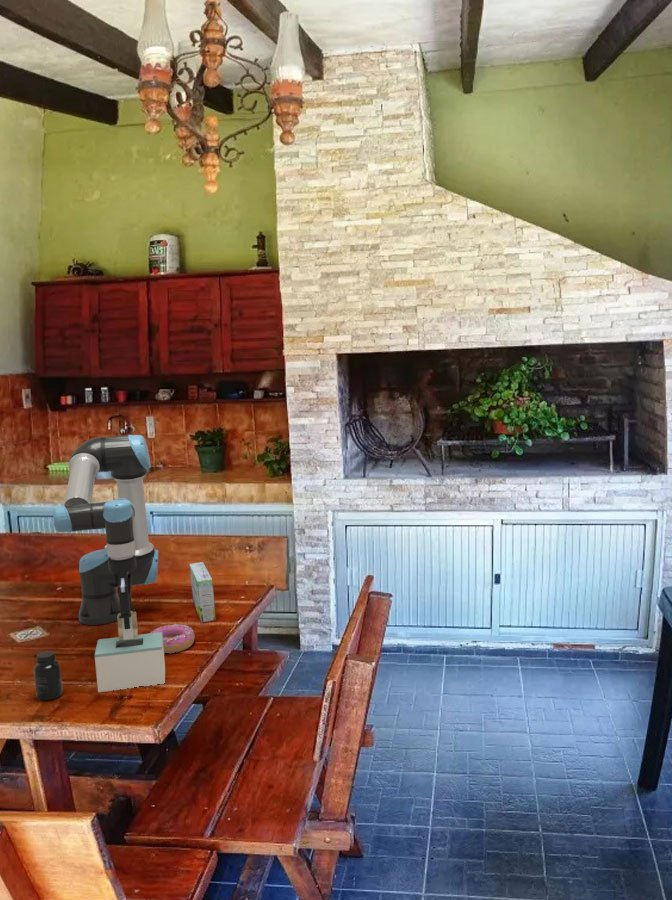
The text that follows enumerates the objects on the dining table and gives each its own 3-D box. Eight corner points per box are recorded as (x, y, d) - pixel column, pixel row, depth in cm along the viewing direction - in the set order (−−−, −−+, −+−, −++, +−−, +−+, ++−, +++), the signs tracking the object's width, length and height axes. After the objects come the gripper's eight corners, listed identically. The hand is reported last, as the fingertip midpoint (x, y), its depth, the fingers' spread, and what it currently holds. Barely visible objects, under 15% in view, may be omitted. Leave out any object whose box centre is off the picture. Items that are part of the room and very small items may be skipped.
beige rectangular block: (119, 637, 221) (117, 613, 220) (138, 635, 222) (136, 611, 221) (119, 641, 218) (117, 617, 217) (137, 639, 219) (135, 615, 218)
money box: (101, 675, 226) (98, 639, 224) (165, 667, 229) (162, 631, 227) (98, 692, 215) (94, 654, 213) (164, 683, 218) (161, 646, 217)
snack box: (191, 603, 282) (188, 563, 280) (207, 601, 284) (204, 561, 282) (200, 623, 262) (197, 580, 260) (216, 621, 264) (213, 578, 262)
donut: (204, 642, 247) (203, 627, 246) (172, 659, 235) (171, 643, 235) (171, 634, 255) (170, 619, 254) (138, 650, 243) (137, 635, 242)
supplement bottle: (67, 694, 215) (63, 653, 213) (44, 704, 210) (39, 661, 208) (55, 687, 219) (50, 647, 217) (31, 696, 214) (27, 655, 212)
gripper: (110, 549, 223) (117, 627, 227) (105, 565, 208) (113, 649, 211) (136, 546, 225) (143, 624, 229) (134, 563, 209) (141, 645, 213)
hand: (128, 636), depth 220 cm, fingers open, 3 cm apart
